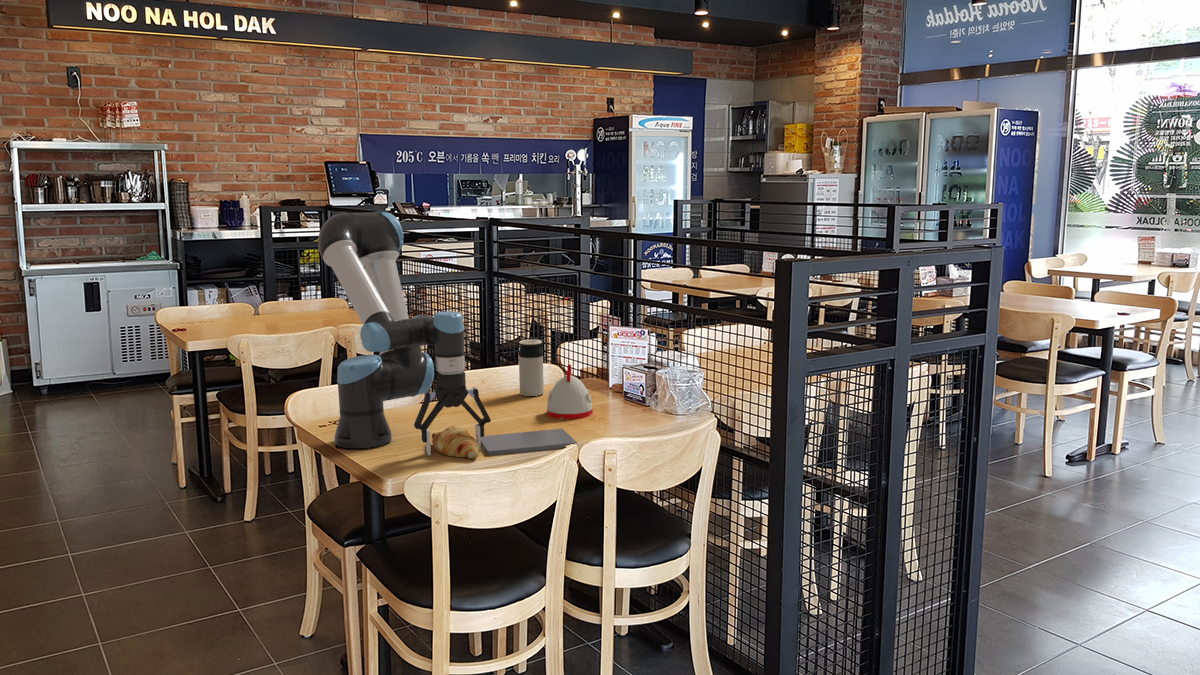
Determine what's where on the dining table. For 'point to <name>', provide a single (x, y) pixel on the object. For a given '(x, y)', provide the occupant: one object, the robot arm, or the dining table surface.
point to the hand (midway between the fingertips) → (453, 451)
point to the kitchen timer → (569, 398)
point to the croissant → (455, 443)
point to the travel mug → (531, 368)
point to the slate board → (526, 441)
